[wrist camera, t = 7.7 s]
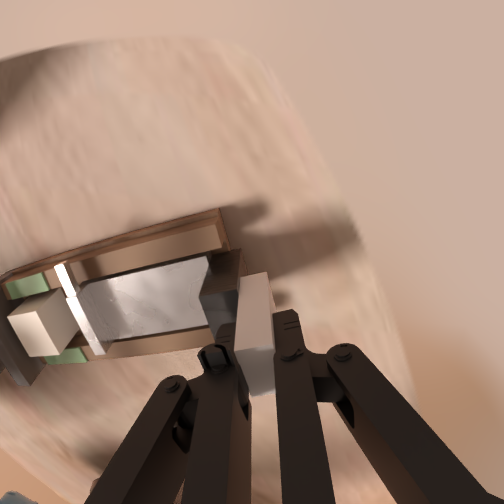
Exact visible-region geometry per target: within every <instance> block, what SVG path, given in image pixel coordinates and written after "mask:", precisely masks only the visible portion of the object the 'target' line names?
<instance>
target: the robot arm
mask: <svg viewBox="0 0 504 504" xmlns="http://www.w3.org/2000/svg"><path fill="white" fill-rule="evenodd" d="M197 356H198V358H199V360H200V363H201V365H202V367H203V369H204V373H203V374H202V375H201V376H199V377H197V378H194V379H191V380H188V381H187V380H186V379H185V378H184V377H183V376H180V375H173V376H170V377H167V378H165V379H164V380H162V381H161V382H160V384H159V385H158V386H157V388H156V389H155V391H154V393H153V394H152V396H151V397H150V399H149V401H148V402H147V404H146V405H145V407H144V408H143V410H142V412H141V413H140V415H139V416H138V418H137V420H136V421H135V423H134V424H133V426H132V427H131V429H130V431H129V432H128V434H127V435H126V437H125V439H124V440H123V442H122V443H121V445H120V447H119V448H118V450H117V451H116V453H115V455H114V456H113V458H112V459H111V461H110V463H109V464H108V466H107V467H106V469H105V471H104V472H103V474H102V475H101V477H100V479H96V480H94V481H93V483H92V486H91V489H90V495H89V496H88V498H87V500H86V501H85V503H84V504H173V502H174V500H175V498H176V496H177V494H178V492H179V489H180V487H181V485H182V483H183V481H184V478H185V482H184V488H183V494H182V501H181V504H251V414H252V406H251V403H250V400H249V392H250V395H251V398H252V397H258V396H264V395H270V394H275V393H276V406H277V421H278V437H279V453H280V469H281V486H282V504H336V503H335V497H334V491H333V485H332V480H331V474H330V468H329V463H328V457H327V452H326V446H325V441H324V436H323V431H322V425H321V420H320V415H319V410H318V405H317V402H332V403H333V406H334V407H335V409H336V410H337V412H338V413H339V415H340V417H341V418H342V420H343V421H344V423H345V424H346V426H347V427H348V429H349V431H350V432H351V434H352V435H353V437H354V438H355V440H356V441H357V443H358V445H359V446H360V448H361V449H362V451H363V452H364V454H365V455H366V457H367V458H368V460H369V462H370V463H371V465H372V466H373V468H374V469H375V471H376V472H377V474H378V475H379V477H380V478H381V480H382V481H383V483H384V485H385V486H386V488H387V489H388V491H389V492H390V494H391V495H392V497H393V498H394V500H395V501H396V503H397V504H504V500H503V499H500V498H498V497H496V496H494V495H492V494H489V493H487V492H486V490H485V489H484V488H483V487H482V486H481V485H480V484H479V482H478V481H477V480H476V479H475V478H474V477H473V475H472V474H471V473H470V472H469V471H468V470H467V469H466V468H465V466H464V465H463V464H462V463H461V462H460V461H459V459H458V458H457V457H456V456H455V455H454V454H453V453H452V451H451V450H450V449H449V448H448V447H447V446H446V445H445V443H444V442H443V441H442V440H441V439H440V438H439V437H438V436H437V434H436V433H435V432H434V431H433V430H432V429H431V428H430V427H429V425H428V424H427V423H426V422H425V421H424V420H423V419H422V418H421V416H420V415H419V414H418V413H417V412H416V411H415V410H414V409H413V407H412V406H411V405H410V404H409V403H408V402H407V401H406V400H405V399H404V397H403V396H402V395H401V394H400V393H399V392H398V391H397V390H396V389H395V387H394V386H393V385H392V384H391V383H390V382H389V381H388V380H387V379H386V377H385V376H384V375H383V374H382V373H381V372H380V371H379V370H378V369H377V368H376V366H375V365H374V364H373V363H372V362H371V361H370V360H369V359H368V358H367V357H366V355H365V354H364V353H363V352H362V351H361V350H360V349H359V348H358V347H357V346H355V345H353V344H349V343H343V344H338V345H335V346H334V347H332V348H330V349H329V351H328V352H327V354H316V353H313V352H311V351H309V350H308V349H307V348H306V346H305V343H304V339H303V334H302V330H301V325H300V321H299V317H298V313H296V312H295V311H294V310H293V309H290V310H286V311H281V312H277V311H276V307H275V303H274V299H273V295H272V291H271V287H270V283H269V279H268V275H267V271H266V272H262V273H258V274H253V275H249V276H244V277H240V288H239V299H238V310H237V321H236V322H232V323H226V324H222V325H221V326H220V328H219V329H218V330H217V333H216V339H215V343H212V344H209V345H207V346H205V347H203V348H202V349H201V350H200V351H199V353H198V355H197ZM0 504H38V503H37V502H34V501H32V500H30V499H28V498H27V497H25V496H23V495H22V494H20V493H18V492H16V491H9V492H7V493H6V494H5V495H4V496H3V497H2V498H1V499H0Z"/></svg>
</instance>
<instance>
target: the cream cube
mask: <svg viewBox="0 0 504 504" xmlns="http://www.w3.org/2000/svg"><path fill="white" fill-rule="evenodd" d="M7 318H8V320H9V322H10V323H11V325H12V327H13V329H14V331H15V333H16V334H17V336H18V338H19V340H20V341H21V343H22V345H23V347H24V348H25V350H26V352H27V353H28V355H29V356H30V357H37V356H51V355H60V354H61V353H62V351H63V350H64V349H65V347H66V346H67V345H68V343H69V342H70V341H71V339H72V338H73V337H74V335H75V334H76V333H77V331H78V330H79V329H80V326H79V325H78V323H77V321H76V319H75V317H74V315H73V313H72V311H71V309H70V307H69V305H68V303H67V300H66V298H65V296H64V294H63V291H62V289H61V287H60V288H56V289H52V290H49V291H45V292H41V293H37V294H33V295H30V296H29V297H28V298H27V299H26V300H25V301H24V302H23V303H22V304H20V305H19V306H18V307H17V308H16V309H15V310H14V311H13V312H12V313H11V314H10V315H9V316H7Z"/></svg>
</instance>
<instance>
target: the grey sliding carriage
mask: <svg viewBox="0 0 504 504" xmlns="http://www.w3.org/2000/svg"><path fill="white" fill-rule="evenodd" d="M55 269H56V271H57V274H58V276H59V278H60V281H61V283H62V285H63V287H64V290H65V292H66V294H67V296H68V297H67V298H66V300H67V303H68V305H69V307H70V309H71V311H72V313H73V315H74V317H75V319H76V321H77V323H78V325H79V326H80V328H81V330H82V332H83V334H84V336H85V338H86V339H87V341H88V343H89V345H90V347H91V348H92V350H93V352H94V354H95V355H104V354H106V353H107V352H108V350H109V348H110V347H111V345H112V343H113V341H114V340H115V339H121V338H128V337H135V336H142V335H148V334H155V333H161V332H167V331H173V330H179V329H185V328H191V327H197V326H202V325H209V327H210V330H211V333H212V335H213V338H214V340H215V339H216V333H217V330H218V329H219V328H220V326H221V325H222V324H226V323H232V322H236V321H237V310H238V299H239V288H240V277H244V276H248V272H247V268H246V265H245V261H244V258H243V254H242V250H241V248H240V249H236V250H231V251H227V252H223V253H218V254H214V255H212V254H211V250H210V251H205V252H201V253H197V254H193V255H189V256H184V257H180V258H176V259H172V260H168V261H163V262H159V263H155V264H151V265H147V266H143V267H139V268H135V269H130V270H126V271H122V272H118V273H114V274H110V275H106V276H102V277H98V278H94V279H90V280H86V281H83V282H82V283H81V284H80V285H78V283H77V281H76V278H75V276H74V274H73V271H72V269H71V267H70V264H69V262H68V260H67V261H64V262H61V263H59V264H57V265H56V266H55Z"/></svg>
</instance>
